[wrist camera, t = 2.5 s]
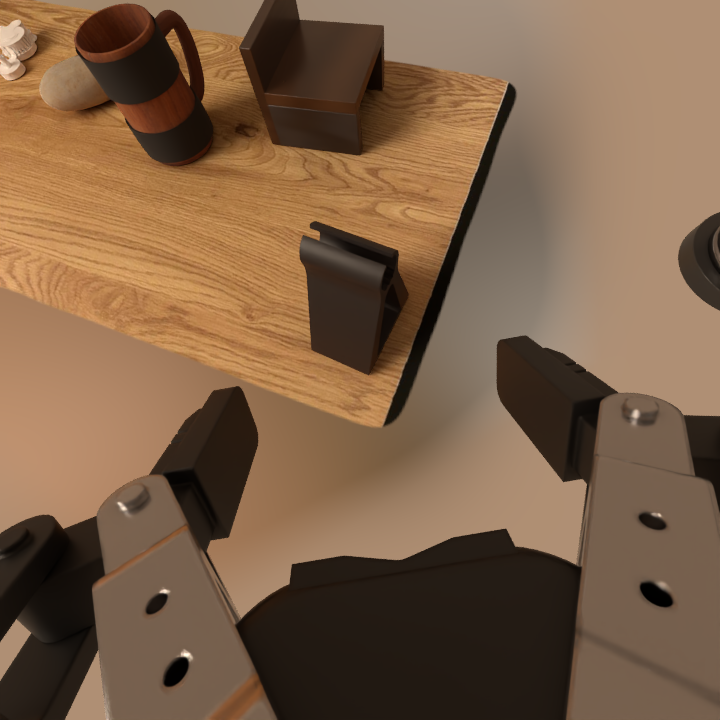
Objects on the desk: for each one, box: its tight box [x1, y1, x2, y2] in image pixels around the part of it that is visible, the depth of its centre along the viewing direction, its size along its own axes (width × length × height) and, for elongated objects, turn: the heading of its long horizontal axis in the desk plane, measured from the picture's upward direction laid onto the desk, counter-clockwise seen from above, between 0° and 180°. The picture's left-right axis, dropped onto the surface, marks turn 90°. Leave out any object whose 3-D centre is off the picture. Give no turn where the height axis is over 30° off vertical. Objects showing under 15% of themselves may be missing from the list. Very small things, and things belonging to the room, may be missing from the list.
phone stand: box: [300, 221, 409, 375], centre depth 28 cm, size 9×6×12 cm, turn 153°
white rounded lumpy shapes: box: [0, 20, 37, 80], centre depth 51 cm, size 9×9×2 cm
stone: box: [40, 55, 111, 111], centre depth 45 cm, size 6×6×12 cm
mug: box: [74, 4, 213, 166], centre depth 38 cm, size 9×12×12 cm
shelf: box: [239, 0, 384, 155], centre depth 38 cm, size 11×12×10 cm
